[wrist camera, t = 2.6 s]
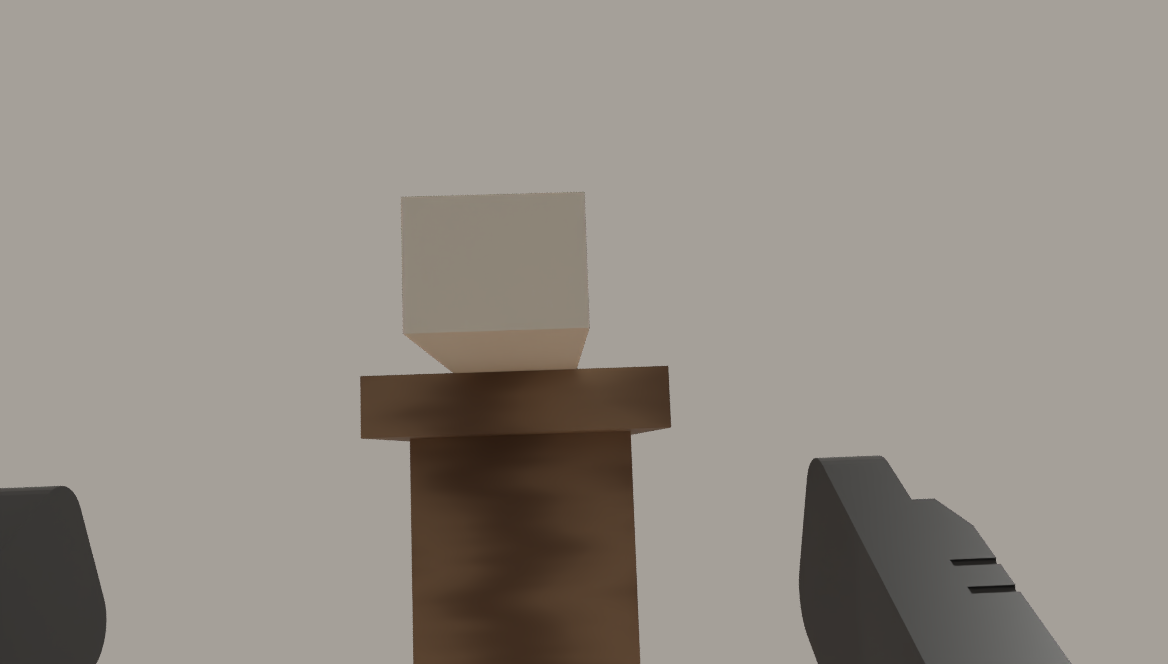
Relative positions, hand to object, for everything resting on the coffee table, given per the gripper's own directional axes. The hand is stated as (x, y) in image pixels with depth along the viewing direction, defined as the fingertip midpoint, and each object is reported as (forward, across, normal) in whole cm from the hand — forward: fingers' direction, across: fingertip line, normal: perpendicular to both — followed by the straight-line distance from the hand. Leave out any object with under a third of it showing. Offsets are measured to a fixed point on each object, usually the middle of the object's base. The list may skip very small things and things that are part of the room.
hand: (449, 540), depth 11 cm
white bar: (+22, 0, +11) cm, 24 cm away
